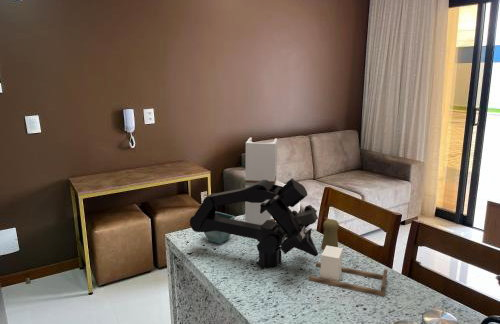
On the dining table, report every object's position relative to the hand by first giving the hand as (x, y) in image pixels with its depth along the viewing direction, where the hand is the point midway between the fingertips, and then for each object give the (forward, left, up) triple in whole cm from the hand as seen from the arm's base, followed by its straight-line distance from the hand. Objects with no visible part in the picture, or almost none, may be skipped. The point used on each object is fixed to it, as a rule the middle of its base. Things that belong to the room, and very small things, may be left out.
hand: (317, 255), depth 118 cm
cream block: (+3, -4, -6) cm, 7 cm away
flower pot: (-14, +37, -7) cm, 40 cm away
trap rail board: (+5, -8, -7) cm, 12 cm away
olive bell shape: (+15, +10, -7) cm, 20 cm away
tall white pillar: (+5, +38, -7) cm, 39 cm away
